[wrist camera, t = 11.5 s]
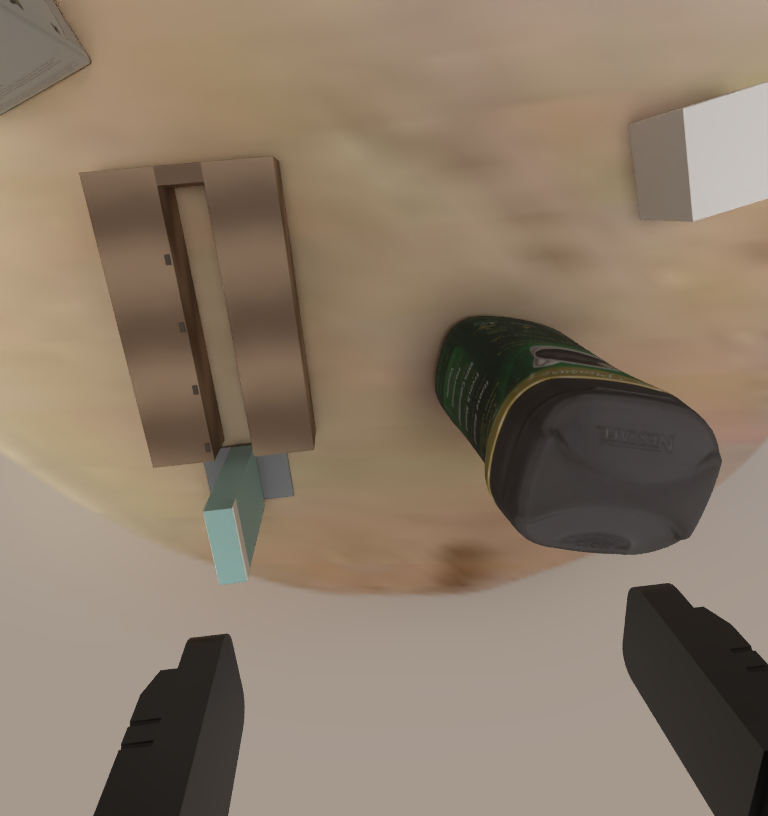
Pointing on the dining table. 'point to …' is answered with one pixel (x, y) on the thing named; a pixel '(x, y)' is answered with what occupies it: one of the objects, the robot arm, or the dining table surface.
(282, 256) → the wooden slotted block
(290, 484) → the mat
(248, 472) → the stub
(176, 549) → the dining table surface
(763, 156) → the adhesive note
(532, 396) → the coffee jar
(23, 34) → the supplement box
